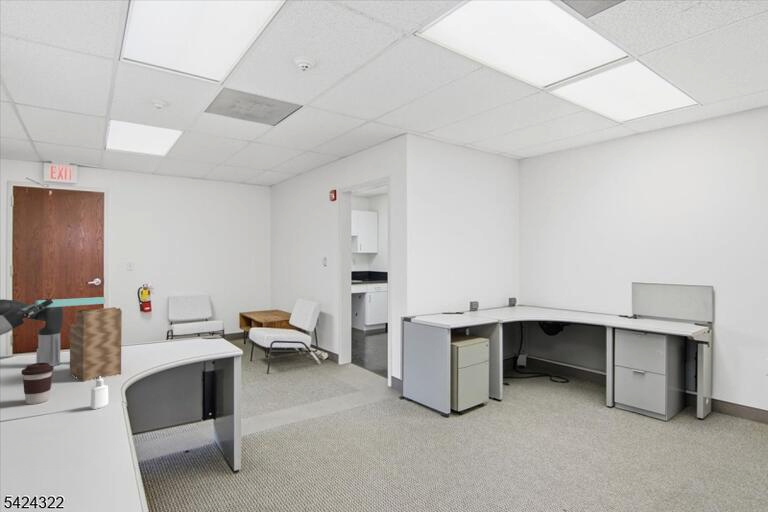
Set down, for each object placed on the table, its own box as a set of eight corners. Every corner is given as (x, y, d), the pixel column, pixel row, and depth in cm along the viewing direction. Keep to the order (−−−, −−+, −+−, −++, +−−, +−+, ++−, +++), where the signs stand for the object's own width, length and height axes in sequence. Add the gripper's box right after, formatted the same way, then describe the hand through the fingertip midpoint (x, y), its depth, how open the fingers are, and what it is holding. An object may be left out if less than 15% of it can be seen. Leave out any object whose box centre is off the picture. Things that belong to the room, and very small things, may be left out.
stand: (83, 381, 192) (83, 311, 193) (69, 374, 205) (70, 308, 205) (121, 374, 205) (121, 308, 205) (106, 367, 217) (106, 305, 218)
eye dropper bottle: (108, 407, 158) (109, 376, 159) (90, 410, 155) (91, 378, 155) (108, 404, 162) (108, 373, 162) (90, 407, 158) (90, 376, 159)
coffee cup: (24, 407, 158) (25, 368, 158) (18, 402, 164) (18, 365, 164) (56, 400, 166) (56, 363, 166) (49, 395, 172) (49, 360, 172)
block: (37, 307, 182) (37, 301, 182) (35, 307, 184) (35, 300, 184) (104, 303, 202) (104, 297, 202) (101, 303, 205) (102, 297, 205)
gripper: (4, 316, 169) (49, 294, 181) (-3, 314, 178) (41, 292, 190) (15, 331, 172) (59, 308, 184) (8, 328, 181) (50, 306, 193)
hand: (50, 300), depth 187 cm, fingers closed on block, 4 cm apart
